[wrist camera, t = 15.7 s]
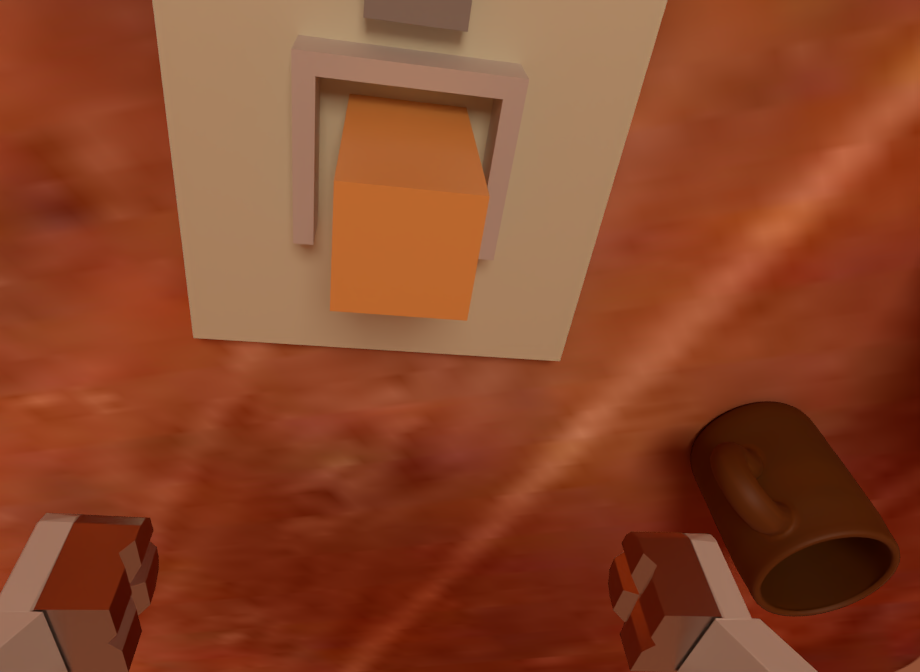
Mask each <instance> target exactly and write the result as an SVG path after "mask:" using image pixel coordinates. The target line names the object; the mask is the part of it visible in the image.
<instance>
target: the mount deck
mask: <svg viewBox="0 0 920 672" xmlns="http://www.w3.org/2000/svg"><path fill="white" fill-rule="evenodd" d="M152 2H153V10H154V18H155V26H156V35H157V43H158V51H159V59H160V67H161V76H162V84H163V92H164V100H165V108H166V117H167V125H168V133H169V141H170V149H171V158H172V166H173V174H174V182H175V190H176V199H177V207H178V215H179V223H180V231H181V240H182V248H183V256H184V264H185V272H186V281H187V289H188V297H189V305H190V313H191V322H192V330H193V338H202V339H217V340H233V341H249V342H265V343H280V344H296V345H312V346H328V347H344V348H359V349H375V350H391V351H407V352H422V353H438V354H454V355H470V356H485V357H501V358H517V359H533V360H548V361H560V359H561V356H562V352H563V349H564V346H565V342H566V339H567V336H568V332H569V329H570V326H571V322H572V319H573V316H574V312H575V309H576V305H577V302H578V299H579V295H580V292H581V289H582V285H583V282H584V279H585V275H586V272H587V269H588V265H589V262H590V258H591V255H592V252H593V248H594V245H595V242H596V238H597V235H598V232H599V228H600V225H601V222H602V218H603V215H604V211H605V208H606V205H607V201H608V198H609V195H610V191H611V188H612V185H613V181H614V178H615V175H616V171H617V168H618V164H619V161H620V158H621V154H622V151H623V148H624V144H625V141H626V138H627V134H628V131H629V128H630V124H631V121H632V118H633V114H634V111H635V107H636V104H637V101H638V97H639V94H640V91H641V87H642V84H643V81H644V77H645V74H646V71H647V67H648V64H649V60H650V57H651V54H652V50H653V47H654V44H655V40H656V37H657V34H658V30H659V27H660V24H661V20H662V17H663V13H664V10H665V7H666V3H667V0H152ZM349 94H357V95H365V96H373V97H382V98H390V99H398V100H407V101H415V102H424V103H432V104H440V105H449V106H457V107H465V108H467V112H468V115H469V119H470V123H471V127H472V131H473V134H474V138H475V142H476V146H477V150H478V153H479V157H480V161H481V165H482V169H483V172H484V176H485V180H486V184H487V188H488V191H489V195H490V198H489V203H488V209H487V214H486V220H485V225H484V231H483V236H482V242H481V247H480V253H479V258H478V264H477V269H476V274H475V280H474V285H473V291H472V296H471V302H470V307H469V313H468V318H467V321H464V320H450V319H436V318H422V317H408V316H394V315H380V314H366V313H352V312H338V311H330V289H331V256H332V223H333V191H334V177H335V171H336V166H337V160H338V155H339V149H340V144H341V138H342V133H343V127H344V122H345V116H346V111H347V105H348V100H349Z"/></svg>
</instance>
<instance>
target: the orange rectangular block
mask: <svg viewBox="0 0 920 672" xmlns="http://www.w3.org/2000/svg"><path fill="white" fill-rule="evenodd" d="M489 198H490V195H489V191H488V188H487V184H486V180H485V176H484V172H483V169H482V165H481V161H480V157H479V153H478V150H477V146H476V142H475V138H474V134H473V131H472V127H471V123H470V119H469V115H468V112H467V108H465V107H457V106H449V105H440V104H432V103H424V102H415V101H407V100H398V99H390V98H382V97H373V96H365V95H357V94H349V100H348V105H347V111H346V116H345V122H344V127H343V133H342V138H341V144H340V149H339V155H338V160H337V166H336V171H335V177H334V191H333V223H332V256H331V289H330V311H338V312H352V313H366V314H380V315H394V316H408V317H422V318H436V319H450V320H464V321H467V318H468V313H469V307H470V302H471V296H472V291H473V285H474V280H475V274H476V269H477V264H478V258H479V253H480V247H481V242H482V236H483V231H484V225H485V220H486V214H487V209H488V203H489Z"/></svg>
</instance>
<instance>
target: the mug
mask: <svg viewBox="0 0 920 672" xmlns="http://www.w3.org/2000/svg"><path fill="white" fill-rule="evenodd" d="M690 461H691V467H692V471H693V474H694V477H695V479H696V482H697V484H698V486H699V488H700V490H701V492H702V495H703V497H704V499H705V501H706V503H707V506H708V508H709V510H710V512H711V515H712V517H713V519H714V521H715V524H716V526H717V528H718V530H719V532H720V534H721V536H722V538H723V541H724V543H725V545H726V547H727V549H728V551H729V553H730V556H731V558H732V560H733V562H734V564H735V566H736V568H737V570H738V572H739V574H740V576H741V577H742V579H743V581H744V582H745V584H746V586H747V587H748V589H749V591H750V593H751V595H752V597H753V598H754V600H755V601H756V603H757V604H758V605H760V606H761V607H762V608H763V609H765V610H766V611H768V612H771V613H774V614H778V615H783V616H809V615H816V614H821V613H826V612H830V611H833V610H837V609H840V608H842V607H845V606H848V605H850V604H852V603H855V602H857V601H859V600H861V599H863V598H865V597H866V596H868V595H870V594H871V593H873V592H874V591H876V590H877V589H879V588H880V587H881V586H882V585H883V584H885V583H886V582H887V581H888V580H889V579H890V578H891V576H892V575H893V574H894V572H895V571H896V569H897V567H898V565H899V562H900V550H899V547H898V544H897V543H896V541H895V539H894V538H893V536H892V535H891V533H890V532H889V530H888V528H887V526H886V524H885V523H884V521H883V519H882V518H881V516H880V514H879V513H878V511H877V510H876V509H875V507H874V506H873V504H872V503H871V502H870V500H869V499H868V497H867V496H866V495H865V493H864V492H863V490H862V489H861V488H860V486H859V485H858V483H857V482H856V481H855V479H854V478H853V476H852V475H851V474H850V472H849V471H848V469H847V468H846V467H845V465H844V464H843V463H842V461H841V460H840V459H839V457H838V456H837V455H836V453H835V452H834V451H833V449H832V448H831V447H830V445H829V444H828V442H827V441H826V440H825V438H824V437H823V435H822V434H821V433H820V431H819V430H818V429H817V427H816V426H815V425H814V423H813V422H812V421H811V420H810V418H809V417H807V416H806V415H805V414H804V413H803V412H802V411H800V410H799V409H797V408H795V407H793V406H790V405H787V404H783V403H779V402H758V403H752V404H748V405H744V406H741V407H738V408H735V409H733V410H731V411H729V412H727V413H725V414H723V415H721V416H720V417H718V418H717V419H715V420H714V421H712V422H711V423H710V424H709V425H708V426H707V427H706V428H705V429H704V430H703V431H702V432H701V433H700V434H699V436H698V437H697V439H696V441H695V443H694V445H693V448H692V452H691V459H690Z"/></svg>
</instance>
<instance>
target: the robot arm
mask: <svg viewBox="0 0 920 672" xmlns="http://www.w3.org/2000/svg"><path fill="white" fill-rule="evenodd" d="M152 533H153V527H152V523H151V519H150V518H147V517H125V516H103V515H83V514H59V513H46V514H45V515H44V516H43V518H42V519H41V520H40V521H39V522H38V523H37V524H36V526H35V528H34V530H33V532H32V534H31V536H30V538H29V540H28V542H27V544H26V545H25V547H24V549H23V551H22V553H21V555H20V557H19V559H18V561H17V563H16V565H15V567H14V569H13V570H12V572H11V574H10V576H9V578H8V580H7V582H6V584H5V586H4V588H3V590H2V592H1V593H0V672H129V669H130V666H131V663H132V660H133V657H134V654H135V651H136V648H137V645H138V642H139V639H140V635H141V632H142V629H141V625H140V621H139V617H138V615H139V614H140V613H141V612H143V611H144V610H145V609H146V608H147V607H148V606H149V605H150V604H151V601H152V597H153V594H154V591H155V587H156V582H157V576H158V570H159V555H158V550H157V547H156V546H155V545H154V544H152V543H151V542H150V539H151V536H152ZM622 546H623V550H624V552H623V553H621V554H620V555H618V556H617V557H615V558H614V560H613V562H612V564H611V567H610V569H609V579H608V587H609V596H610V600H611V604H612V608H613V610H614V611H615V612H616V613H617V615H618V616H619V617H620V618H621V619H622V620H623V621H624V625H623V627H622V630H621V632H620V637H621V640H622V644H623V647H624V651H625V654H626V658H627V662H628V665H629V669H630V671H650V672H818V671H816V670H815V669H814V668H813V667H812V666H811V665H810V664H809V663H808V662H807V661H805V660H804V659H803V658H802V657H801V656H800V655H799V654H798V653H797V652H796V651H794V650H793V649H792V648H791V647H790V646H789V645H788V644H787V643H786V642H785V641H783V640H782V639H781V638H780V637H779V636H778V635H777V634H776V633H775V632H774V631H772V630H771V629H770V628H769V627H768V626H767V625H766V624H765V623H764V622H763V621H761V620H760V619H755V618H751V615H750V613H749V611H748V609H747V607H746V604H745V602H744V600H743V598H742V596H741V594H740V591H739V589H738V587H737V585H736V583H735V580H734V578H733V576H732V574H731V572H730V569H729V567H728V565H727V563H726V561H725V558H724V556H723V554H722V552H721V550H720V548H719V545H718V543H717V541H716V539H715V538H714V537H713V536H712V535H711V534H706V533H681V532H630V533H628V534H626V536H625V538H624V539H623V541H622Z"/></svg>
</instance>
